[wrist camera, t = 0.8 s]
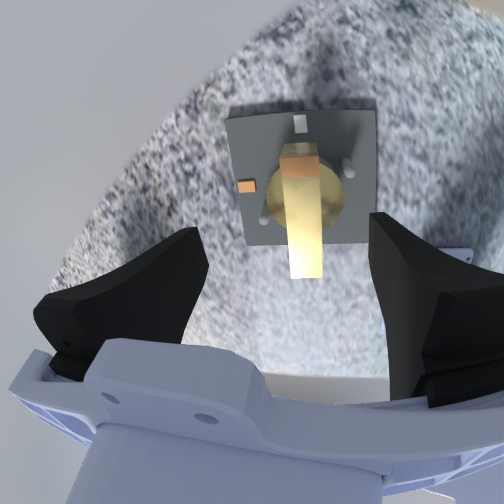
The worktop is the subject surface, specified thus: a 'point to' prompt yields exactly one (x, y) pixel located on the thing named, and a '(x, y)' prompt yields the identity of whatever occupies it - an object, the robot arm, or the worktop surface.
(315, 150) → the lever handle
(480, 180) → the worktop surface
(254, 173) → the post base
